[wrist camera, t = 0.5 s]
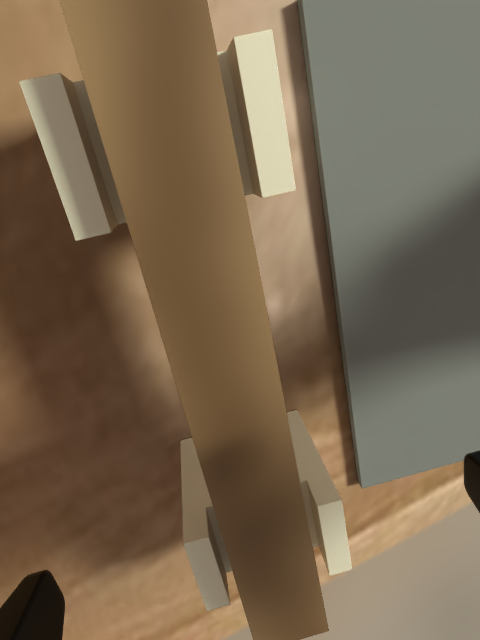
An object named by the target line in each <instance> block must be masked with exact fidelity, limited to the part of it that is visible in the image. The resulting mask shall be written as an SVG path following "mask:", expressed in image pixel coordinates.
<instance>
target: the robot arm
mask: <svg viewBox="0 0 480 640" xmlns="http://www.w3.org/2000/svg"><path fill="white" fill-rule="evenodd" d="M464 485H465V489H466V491H467V493H468V495H469V497H470V498H471V500H472V501H473V503H474V505H475V506H476V508H477V509H478V511H479V513H480V450H479V451H475V452H472V453H468V454H466V455H465V457H464ZM64 612H65V601H64V596H63V594H62V592H61V590H60V588H59V586H58V585H57V583H56V581H55V579H54V577H53V575H52V574H51V572H50V571H48V570H43V571H39V572H36V573H32V574H29V575H27V576H26V577H25V578H24V579H23V580H22V581H21V583H20V584H19V585H18V586H17V588H16V589H15V590H14V591H13V593H12V594H11V595H10V597H9V598H8V599H7V600H6V602H5V603H4V604H3V605H2V607H1V608H0V640H62V635H63V624H64Z"/></svg>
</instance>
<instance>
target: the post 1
mask: <svg viewBox="0 0 480 640" xmlns="http://www.w3.org/2000/svg"><path fill="white" fill-rule="evenodd" d="M217 55H218V60H219V66H220V71H221V76H222V81H223V86H224V91H225V97H226V102H227V107H228V112H229V117H230V122H231V128H232V133H233V138H234V143H235V148H236V153H237V159H238V164H239V169H240V174H241V179H242V184H243V190H244V195H249V194H255V195H257V196H260V197H262V198H264V197H268V196H272V195H277V194H281V193H285V192H290V191H294V190H296V187H295V181H294V174H293V167H292V160H291V154H290V147H289V140H288V133H287V127H286V120H285V113H284V106H283V100H282V93H281V86H280V79H279V73H278V66H277V59H276V52H275V46H274V39H273V32H272V29H271V30H266V31H261V32H256V33H251V34H246V35H241V36H237V37H234V38H233V40H232V41H231V43H230V45H229V47H228V49H227V51H223V52H218V53H217ZM19 82H20V85H21V88H22V90H23V93H24V96H25V99H26V102H27V105H28V107H29V110H30V113H31V116H32V119H33V121H34V124H35V127H36V130H37V133H38V136H39V138H40V141H41V144H42V147H43V150H44V152H45V155H46V158H47V161H48V164H49V167H50V169H51V172H52V175H53V178H54V181H55V183H56V186H57V189H58V192H59V195H60V198H61V200H62V203H63V206H64V209H65V212H66V215H67V217H68V220H69V223H70V226H71V229H72V231H73V234H74V237H75V240H76V241H77V240H82V239H86V238H90V237H95V236H99V235H103V234H108V233H111V232H112V231H113V230H114V229H115V227H116V226H117V225H119V224H123V223H127V222H126V218H125V215H124V212H123V208H122V205H121V202H120V198H119V195H118V192H117V189H116V185H115V182H114V179H113V175H112V172H111V169H110V166H109V162H108V159H107V156H106V152H105V149H104V146H103V142H102V139H101V136H100V133H99V129H98V126H97V123H96V119H95V116H94V113H93V109H92V106H91V103H90V100H89V96H88V93H87V90H86V86H85V83H84V80H83V81H78V82H72V81H70V80H69V79H68V78H66V77H65V76H64V75H62V74H61V73H57V74H52V75H47V76H42V77H38V78H33V79H28V80H23V81H19Z"/></svg>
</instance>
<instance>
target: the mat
mask: <svg viewBox="0 0 480 640" xmlns="http://www.w3.org/2000/svg"><path fill="white" fill-rule="evenodd" d="M297 3H298V11H299V18H300V26H301V34H302V42H303V50H304V58H305V66H306V74H307V82H308V90H309V98H310V106H311V114H312V121H313V129H314V137H315V145H316V153H317V161H318V169H319V177H320V185H321V193H322V201H323V209H324V216H325V224H326V232H327V240H328V248H329V256H330V264H331V272H332V280H333V288H334V296H335V304H336V311H337V319H338V327H339V335H340V343H341V351H342V359H343V367H344V375H345V383H346V391H347V399H348V407H349V414H350V422H351V430H352V438H353V446H354V454H355V462H356V470H357V478H358V482H359V484H360V486H361V488H362V489H363V488H366V487H370V486H373V485H377V484H381V483H384V482H388V481H391V480H395V479H398V478H402V477H406V476H409V475H413V474H416V473H420V472H424V471H427V470H431V469H434V468H438V467H442V466H445V465H449V464H452V463H456V462H460V461H463V460H464V457H465V455H466V454H468V453H472V452H475V451H479V450H480V0H297Z"/></svg>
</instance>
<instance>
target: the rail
mask: <svg viewBox="0 0 480 640" xmlns="http://www.w3.org/2000/svg"><path fill="white" fill-rule="evenodd" d="M59 1H60V4H61V7H62V11H63V14H64V17H65V20H66V24H67V27H68V30H69V34H70V37H71V40H72V44H73V47H74V50H75V53H76V57H77V60H78V63H79V67H80V70H81V73H82V76H83V80H84V83H85V86H86V90H87V93H88V96H89V100H90V103H91V106H92V109H93V113H94V116H95V119H96V123H97V126H98V129H99V133H100V136H101V139H102V142H103V146H104V149H105V152H106V156H107V159H108V162H109V166H110V169H111V172H112V175H113V179H114V182H115V185H116V189H117V192H118V195H119V198H120V202H121V205H122V208H123V212H124V215H125V218H126V222H127V225H128V228H129V231H130V235H131V238H132V241H133V245H134V248H135V251H136V255H137V258H138V261H139V264H140V268H141V271H142V274H143V278H144V281H145V284H146V288H147V291H148V294H149V297H150V301H151V304H152V307H153V311H154V314H155V317H156V320H157V324H158V327H159V330H160V334H161V337H162V340H163V344H164V347H165V350H166V353H167V357H168V360H169V363H170V367H171V370H172V373H173V377H174V380H175V383H176V386H177V390H178V393H179V396H180V400H181V403H182V406H183V410H184V413H185V416H186V419H187V423H188V426H189V429H190V433H191V436H192V439H193V442H194V446H195V449H196V452H197V456H198V459H199V462H200V466H201V469H202V472H203V475H204V479H205V482H206V485H207V489H208V492H209V495H210V499H211V502H212V505H213V508H214V512H215V515H216V518H217V522H218V525H219V528H220V532H221V535H222V538H223V541H224V545H225V548H226V551H227V555H228V558H229V561H230V565H231V568H232V571H233V574H234V578H235V581H236V584H237V588H238V591H239V594H240V597H241V601H242V604H243V607H244V611H245V614H246V617H247V621H248V624H249V627H250V630H251V634H252V637H253V640H300V639H303V638H306V637H310V636H313V635H317V634H320V633H323V632H326V631H329V629H328V624H327V619H326V613H325V608H324V603H323V598H322V593H321V587H320V582H319V577H318V572H317V567H316V562H315V556H314V551H313V546H312V541H311V536H310V531H309V525H308V520H307V515H306V510H305V505H304V500H303V494H302V489H301V484H300V479H299V474H298V469H297V463H296V458H295V453H294V448H293V443H292V438H291V432H290V427H289V422H288V417H287V412H286V407H285V401H284V396H283V391H282V386H281V381H280V376H279V370H278V365H277V360H276V355H275V350H274V345H273V339H272V334H271V329H270V324H269V319H268V314H267V308H266V303H265V298H264V293H263V288H262V283H261V277H260V272H259V267H258V262H257V257H256V252H255V246H254V241H253V236H252V231H251V226H250V221H249V215H248V210H247V205H246V200H245V195H244V190H243V184H242V179H241V174H240V169H239V164H238V159H237V153H236V148H235V143H234V138H233V133H232V128H231V122H230V117H229V112H228V107H227V102H226V97H225V91H224V86H223V81H222V76H221V71H220V66H219V60H218V55H217V50H216V45H215V40H214V35H213V29H212V24H211V19H210V14H209V9H208V3H207V0H59Z"/></svg>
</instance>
